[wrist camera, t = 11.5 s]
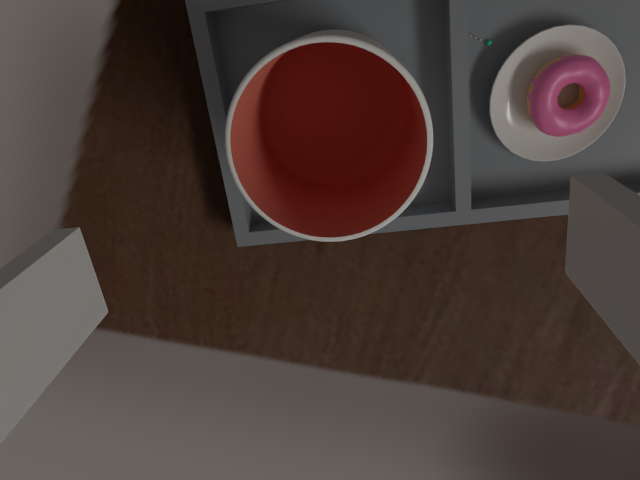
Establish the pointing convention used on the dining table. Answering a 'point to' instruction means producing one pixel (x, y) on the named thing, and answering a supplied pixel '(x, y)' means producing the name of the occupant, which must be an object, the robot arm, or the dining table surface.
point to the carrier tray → (432, 95)
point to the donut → (557, 92)
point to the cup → (329, 136)
